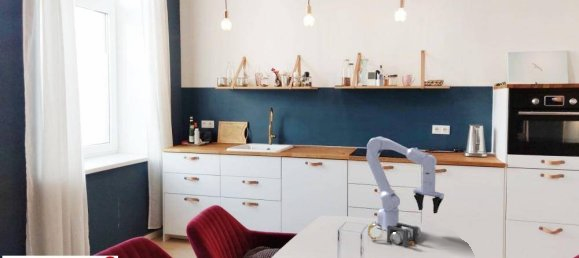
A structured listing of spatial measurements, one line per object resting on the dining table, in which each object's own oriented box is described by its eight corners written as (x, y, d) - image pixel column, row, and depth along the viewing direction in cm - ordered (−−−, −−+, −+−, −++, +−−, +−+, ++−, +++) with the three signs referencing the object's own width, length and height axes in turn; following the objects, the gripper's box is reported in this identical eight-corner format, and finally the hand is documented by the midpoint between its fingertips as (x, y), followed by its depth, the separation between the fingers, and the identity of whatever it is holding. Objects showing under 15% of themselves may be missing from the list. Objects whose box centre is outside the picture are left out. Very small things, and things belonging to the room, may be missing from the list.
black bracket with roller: (386, 242, 205) (387, 226, 205) (398, 238, 211) (399, 222, 210) (407, 247, 197) (407, 231, 197) (418, 243, 203) (419, 227, 203)
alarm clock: (368, 241, 206) (368, 222, 206) (366, 238, 210) (367, 220, 209) (384, 241, 207) (384, 222, 206) (382, 238, 210) (383, 220, 209)
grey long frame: (400, 244, 200) (398, 232, 200) (391, 244, 203) (388, 232, 204) (422, 236, 210) (419, 225, 211) (412, 237, 214) (410, 226, 215)
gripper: (447, 183, 213) (447, 213, 214) (419, 178, 224) (419, 207, 225) (439, 185, 208) (438, 215, 209) (411, 180, 219) (410, 209, 220)
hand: (427, 211), depth 217 cm, fingers open, 7 cm apart
